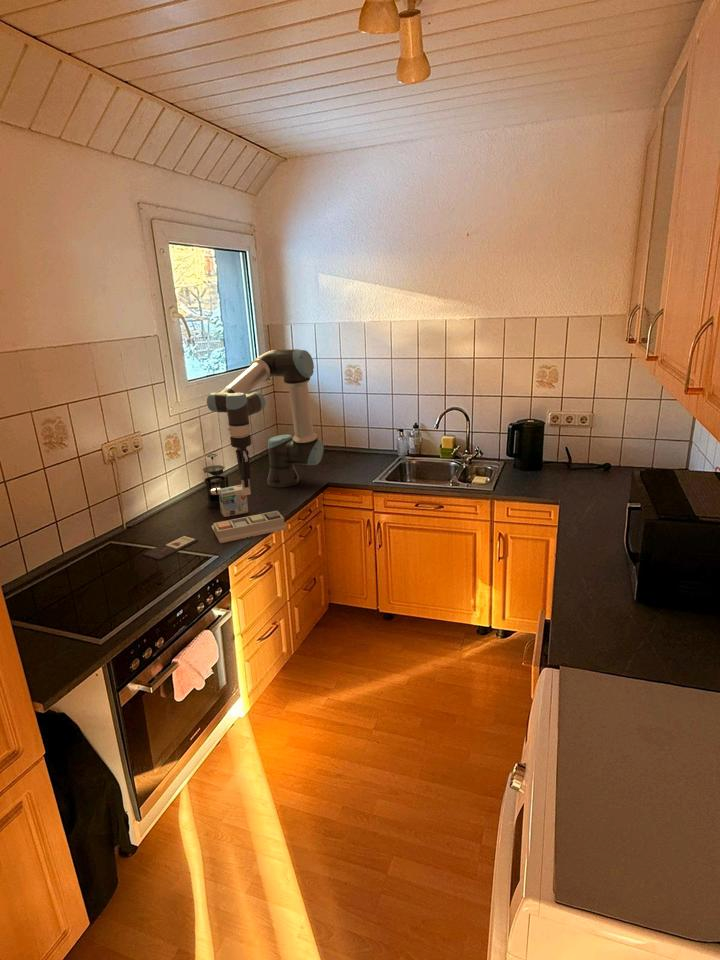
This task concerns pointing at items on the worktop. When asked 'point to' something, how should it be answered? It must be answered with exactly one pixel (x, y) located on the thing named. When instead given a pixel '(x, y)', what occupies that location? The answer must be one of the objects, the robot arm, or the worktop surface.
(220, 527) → the terracotta key
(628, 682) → the worktop surface
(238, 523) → the slate key
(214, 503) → the french press
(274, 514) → the charcoal key
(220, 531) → the keypad board
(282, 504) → the worktop surface
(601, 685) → the worktop surface
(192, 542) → the chocolate bar
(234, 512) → the light bulb box
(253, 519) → the sage key
